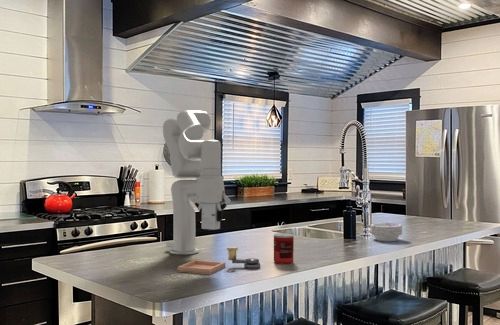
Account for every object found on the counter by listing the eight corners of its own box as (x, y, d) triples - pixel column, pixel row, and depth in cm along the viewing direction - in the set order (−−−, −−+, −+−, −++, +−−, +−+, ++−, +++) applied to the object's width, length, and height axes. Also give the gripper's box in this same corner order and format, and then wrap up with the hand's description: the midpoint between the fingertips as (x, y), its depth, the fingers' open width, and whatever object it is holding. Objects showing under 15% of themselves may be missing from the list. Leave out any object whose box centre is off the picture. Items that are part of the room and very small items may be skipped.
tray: (177, 271, 184) (177, 266, 184) (195, 264, 196) (195, 259, 196) (209, 274, 179) (209, 269, 179) (225, 267, 191) (225, 262, 191)
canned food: (281, 259, 205) (281, 232, 205) (297, 262, 200) (297, 234, 200) (269, 262, 199) (269, 234, 199) (286, 265, 194) (286, 236, 194)
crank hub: (241, 268, 189) (241, 264, 189) (248, 265, 194) (248, 261, 194) (256, 269, 187) (256, 265, 187) (262, 266, 192) (262, 262, 192)
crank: (259, 261, 193) (259, 246, 193) (258, 264, 188) (258, 248, 188) (227, 261, 193) (227, 246, 193) (226, 264, 188) (226, 248, 188)
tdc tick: (229, 272, 182) (229, 271, 182) (228, 271, 183) (228, 270, 183) (234, 271, 184) (234, 270, 184) (232, 270, 184) (232, 270, 184)
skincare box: (201, 229, 190) (200, 196, 189) (207, 227, 194) (207, 195, 193) (215, 229, 187) (214, 197, 187) (221, 228, 191) (220, 196, 191)
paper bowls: (364, 240, 254) (364, 224, 254) (381, 236, 264) (381, 221, 264) (390, 243, 243) (390, 227, 243) (408, 240, 253) (408, 224, 253)
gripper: (185, 173, 190) (185, 221, 190) (228, 173, 184) (228, 222, 184) (194, 172, 197) (194, 218, 197) (235, 172, 191) (236, 220, 191)
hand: (211, 220), depth 190 cm, fingers closed on skincare box, 6 cm apart
